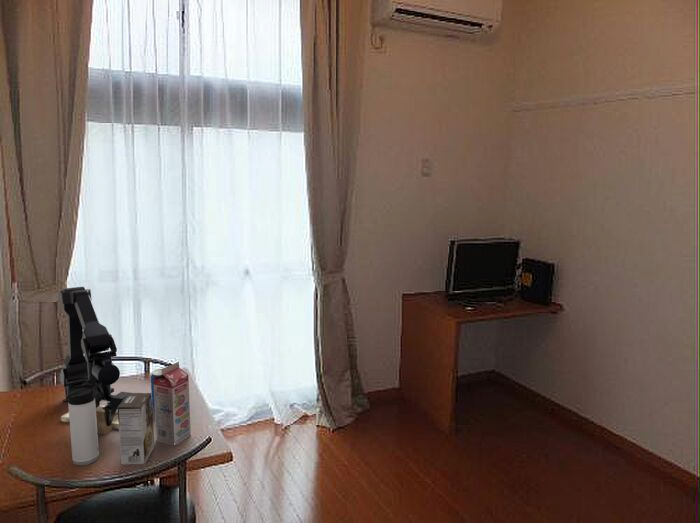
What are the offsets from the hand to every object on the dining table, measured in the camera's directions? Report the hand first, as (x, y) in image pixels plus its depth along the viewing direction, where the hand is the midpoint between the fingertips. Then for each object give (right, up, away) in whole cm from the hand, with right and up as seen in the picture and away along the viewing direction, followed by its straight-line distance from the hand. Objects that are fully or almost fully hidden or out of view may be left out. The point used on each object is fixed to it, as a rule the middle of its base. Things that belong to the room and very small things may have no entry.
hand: (102, 425), depth 154 cm
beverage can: (+12, 0, +17) cm, 21 cm away
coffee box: (+16, -4, -13) cm, 21 cm away
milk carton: (+22, -3, -3) cm, 22 cm away
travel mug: (+3, -5, -15) cm, 16 cm away
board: (-4, -1, +9) cm, 10 cm away
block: (+1, -1, +5) cm, 5 cm away
